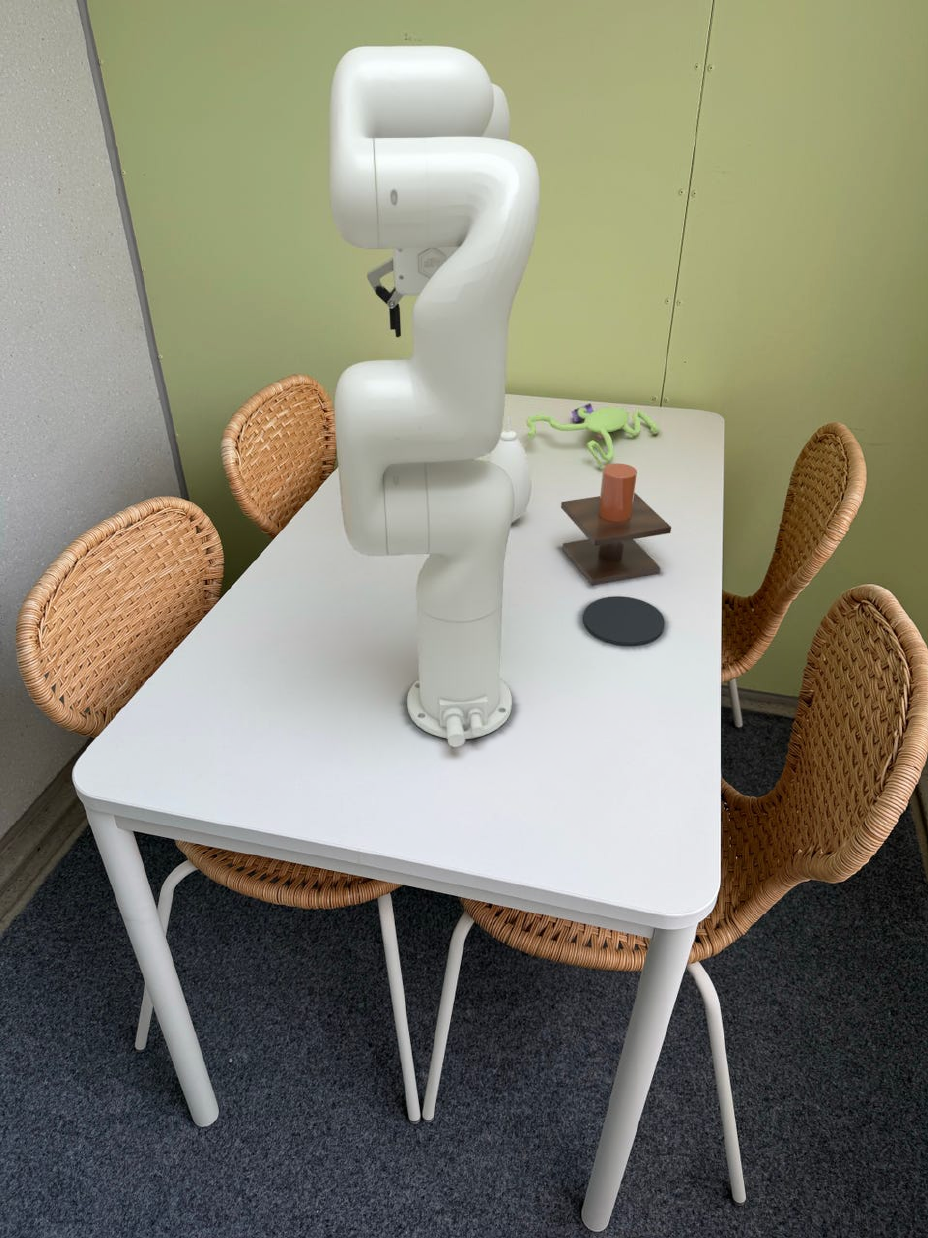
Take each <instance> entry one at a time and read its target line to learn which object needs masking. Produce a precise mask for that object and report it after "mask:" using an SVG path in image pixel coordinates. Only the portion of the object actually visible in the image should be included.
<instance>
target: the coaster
mask: <svg viewBox="0 0 928 1238" xmlns="http://www.w3.org/2000/svg"><path fill="white" fill-rule="evenodd" d="M582 622H583V625H584V628H585V630H587V632H588V633H590V634H591V635H592V636H593V637H595V639H598V640H600V641H602V642H606V643H608V644H612V645H616V646H623V647H636V646H643V645H646V644H649V643H652V642H654V641H656V640H657V639H658V638H660V636H661V635H662V634H663V632H664V630H665V625H666V624H665V623H666V622H665V618H664V616H663V614H662V612H660V610H659V609H658V608H657V607H655V606H654V605H652V604H651V603H649V602H647V601H645V600H641V599H639V598H635V597H630V596H621V595H619V596H617V595H615V596H607V597H601V598H598V599H596V600H594V601H592V602H591V603H589V604H588V605H587V606H586V608H584V611H583V614H582Z"/></svg>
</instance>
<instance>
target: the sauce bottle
mask: <svg viewBox="0 0 928 1238" xmlns="http://www.w3.org/2000/svg"><path fill="white" fill-rule="evenodd" d="M506 423H507V424H506V426H507V427H506V430H502V432H501V436H500V439H499V442H498V444H497V445H496V447H495V448H494V450H493V451H492V452H490V453H489V454H488V456H487V459H486V461H488V462H491V463H494V464H496V465H498V466H499V467H501V468H502V469H503V470H504V471H505V472H506V473H507V474H508V476H509V477H510V480H511V482H512V485H513V489H514V512H513V519H512V523H514V522H516V521H517V520H519V519H520V518H521V517H522V516H523V514H524V513H525V511H526V510H527V507H528V505H529V502H530V500H531V495H532V472H531V466H530V463H529V459H528V456H527V454H526V451H525V448H524V446H523V445H522V443H521V442H520V440H519V439H518V433H517V432H516V431H514V430H511V418H510V416H508V417H507V422H506Z"/></svg>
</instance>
